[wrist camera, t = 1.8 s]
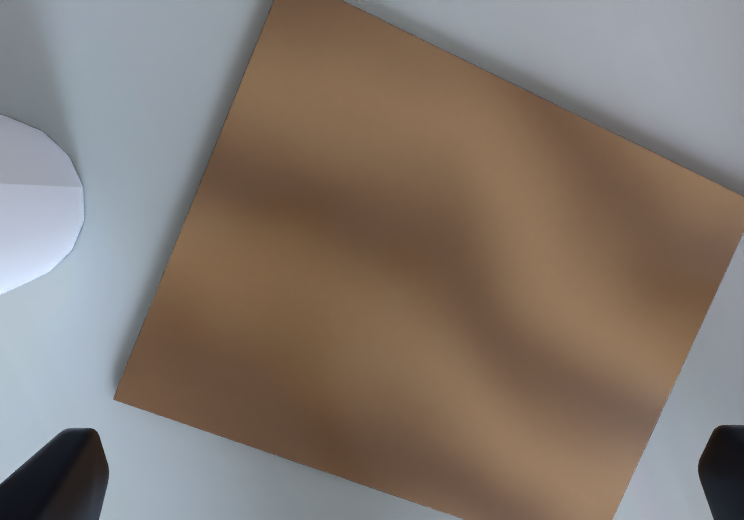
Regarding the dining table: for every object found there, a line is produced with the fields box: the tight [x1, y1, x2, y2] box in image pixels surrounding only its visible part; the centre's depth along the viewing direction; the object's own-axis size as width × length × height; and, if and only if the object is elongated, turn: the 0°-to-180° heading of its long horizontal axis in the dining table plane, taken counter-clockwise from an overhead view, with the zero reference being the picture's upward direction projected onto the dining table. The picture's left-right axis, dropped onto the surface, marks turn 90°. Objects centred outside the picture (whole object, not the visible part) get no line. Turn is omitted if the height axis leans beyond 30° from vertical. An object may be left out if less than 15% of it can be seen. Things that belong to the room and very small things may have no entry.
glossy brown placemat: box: [113, 0, 744, 520], centre depth 23 cm, size 16×20×1 cm
